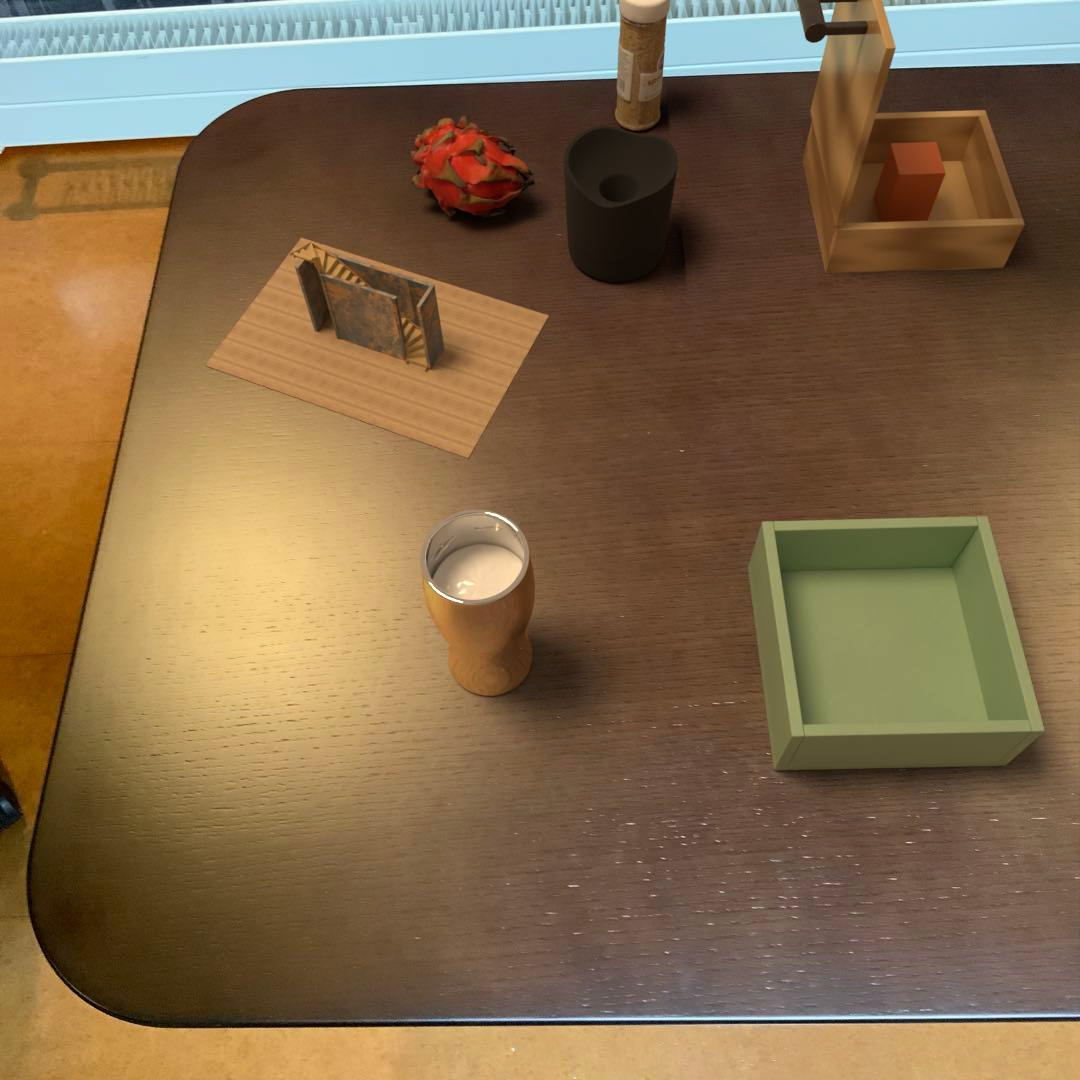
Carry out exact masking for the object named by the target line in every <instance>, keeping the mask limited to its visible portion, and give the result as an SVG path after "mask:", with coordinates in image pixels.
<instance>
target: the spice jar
mask: <svg viewBox="0 0 1080 1080" xmlns="http://www.w3.org/2000/svg"><path fill="white" fill-rule="evenodd" d="M670 8H671V0H618V11H619V14H620V18H619V19H620V20H619V37H618V44H617V46H618V47H617V51H618V52H617V54H618V55H617V74H616V92H617V94H616V96H617V99H616V108H615V111H614V117H615V120H616V122H617V123H618V125H619V126H621V128H623V129H625V130H628V131H631V132H640V131H646V130H649V129H651V128H653V127H655V125H656V124H657V123H659V120H660V119H661V110H660V108H661V107H660V106H661V96H662V95H661V94H662V89H663V78H664V77H663V76H664V66H665V65H664V64H665V52H666V46H665V44H666V42H665V41H666V34H667V33H666V31H667V20H668V19H667V18H668V16H669V13H670Z"/></svg>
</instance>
